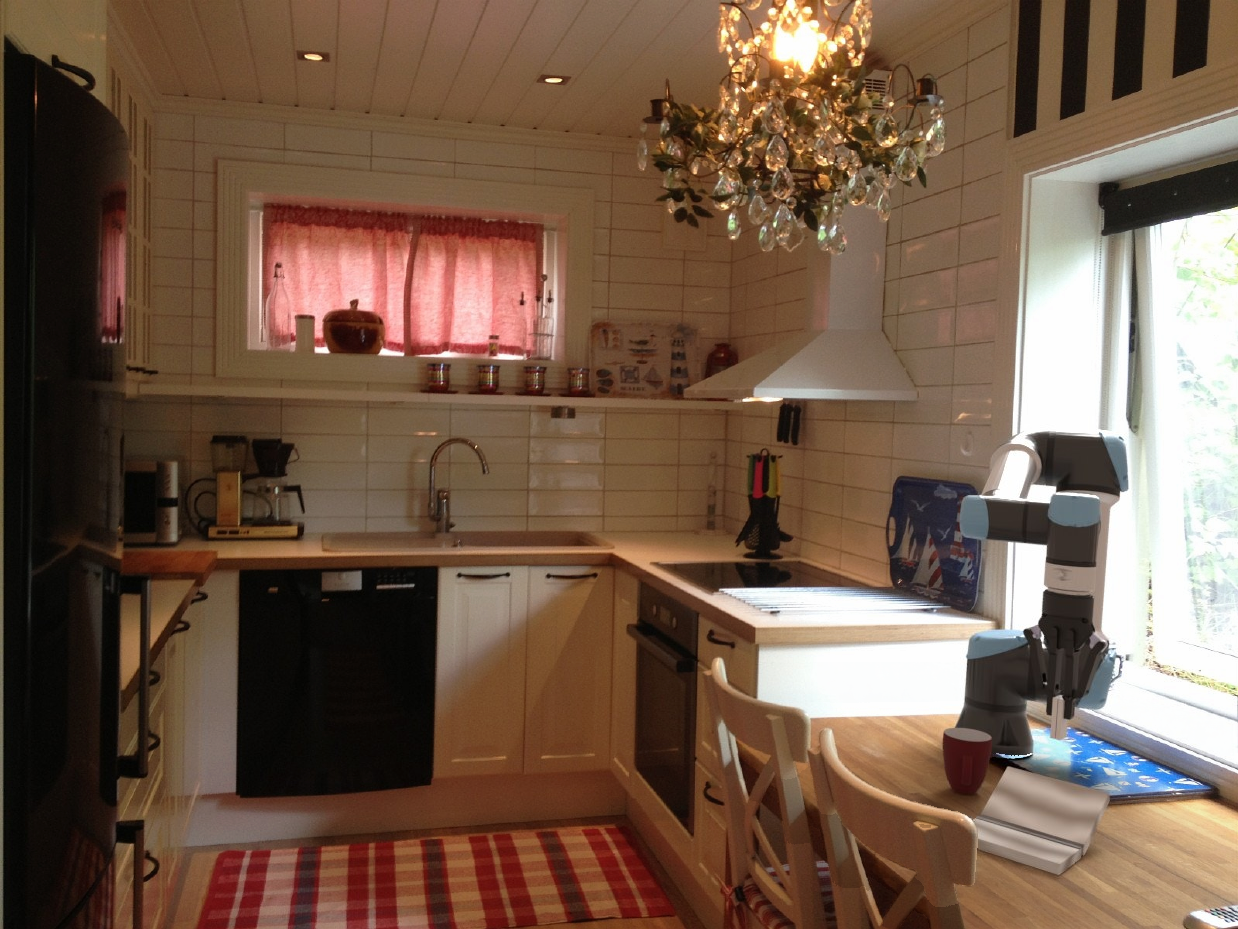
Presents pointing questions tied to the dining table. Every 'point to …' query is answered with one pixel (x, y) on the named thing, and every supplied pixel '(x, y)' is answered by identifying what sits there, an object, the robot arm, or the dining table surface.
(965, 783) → the mug
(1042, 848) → the laid board
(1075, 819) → the plank
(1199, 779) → the dining table surface
